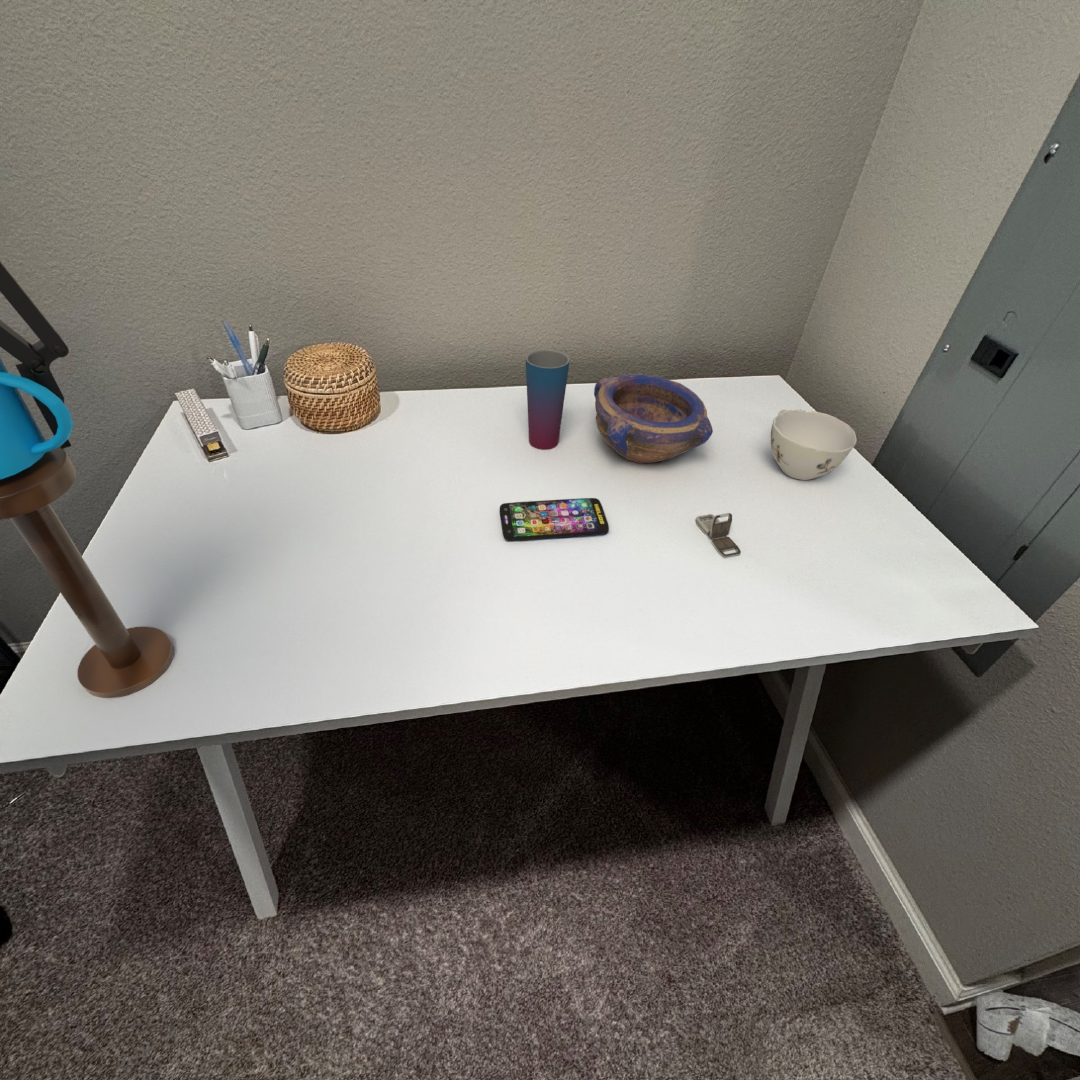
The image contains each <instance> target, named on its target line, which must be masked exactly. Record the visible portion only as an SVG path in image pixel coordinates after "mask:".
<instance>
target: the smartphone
mask: <svg viewBox="0 0 1080 1080" xmlns="http://www.w3.org/2000/svg"><path fill="white" fill-rule="evenodd" d="M499 517H500V524H501V531H502V537H503V539H504V540H506V541H510V542H511V541H512V542H514V541H530V540H543V539H559V538H575V537H576V538H577V537H588V536H589V537H590V536H601V535H606V534H607V533H609V527H610V526H609V521H608V519H607V517H606V513H605V511H604V508H603V505H602V503H601V501H600V499H598V498H596V497H581V498H564V499H545V500H529V501H516V502H503V503H502V504H500V505H499Z"/></svg>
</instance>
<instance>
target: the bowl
mask: <svg viewBox="0 0 1080 1080" xmlns="http://www.w3.org/2000/svg"><path fill="white" fill-rule="evenodd" d="M593 395H594V399H595V401H594V406H595V412H596V414H595V424H596V428H597V430H598V432H599V434H600V435H601V437H602V439H603V440H604V442H605V443H606V444H607V445H608V446H609V447H610V448H611V449H612V450H614V451H615V452H616V453H617V454H618V455H619V456H621V457H623V458H624V459H626V460H628V461H631V462H634V463H637V464H639V463H640V464H641V463H643V464H644V463H645V464H647V463H651V464H652V463H657V462H662V461H667V460H670V459H672V458H675V457H677V456H678V455H680V454H683V453H685V452H688V451H690V450H694V449H695V448H698V447H700V446H701V445H704V444H705V443H707V442H708V441H709V439H711V436H712V435H713V432H714V430H713V426H712V423H711V420H710V419H709V417H708V410H707V408H706V406H705V404H704V402H703V400H702V399H701V398H700V397H699V396H698V395H697V394H696V393H695V392H694V391H692V390H691V389H690V388H689V387H687V386H686V385H684V384H682V383H681V382H678V381H675V380H672V379H667V378H665V377H660V376H657V375H656V376H655V375H650V374H644V373H637V374H634V373H633V374H624V375H619V376H614V377H604V378H602V379H600V380H598V381H597V382H596V383H595V385H594V389H593Z"/></svg>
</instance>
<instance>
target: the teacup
mask: <svg viewBox="0 0 1080 1080" xmlns="http://www.w3.org/2000/svg"><path fill="white" fill-rule="evenodd" d="M857 439H858V438H857V436H856V432H855V430H854V429H853V428H852V427H851V426H850V425H849V424H847V423H846V422H844V421H842V420H840V419H839V418H838V417H835V416H832V415H831V414H827V413H824V412H820V411H816V410H810V411H806V410H804V409H799V408H798V409H781V410H780V411H779V412H778V414H777V415H776V416H775V417H774V418H773V419H772V424H771V428H770V449H771V452H772V455H773V458H774V459H775V461H776V463H777V464H778V466H779V467H780V469H781V471H782V472H783V473H784V474H785V475H787V476H788V477H790V478H792V479H795V480H796V479H797V480H802V481H809V480H813V479H816V478H818V477H820V476H823V475H826V474H828V473H829V472H831V471H833V470H834V469H836V468H837V467H838V466H839V465H840V464H842V462H843V461H844V460H845V459H846V458H847V457H848V455H850V453H851V451H852V450H853V448H854V447H855V446H856V445H857Z"/></svg>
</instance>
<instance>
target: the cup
mask: <svg viewBox="0 0 1080 1080" xmlns="http://www.w3.org/2000/svg"><path fill="white" fill-rule="evenodd" d="M570 361H571V359H570V356H569V355H568V354H567V353H566V352H564V351H561V350H560V349H559V350H558V349H554V348H537V349H533V350H531V351H529V352H527V353H526V355H525V377H526V380H525V381H526V402H527V406H526V407H527V426H528V429H527V430H528V443H529V445H530V446H531V447H533V448H534V449H538V450H551V449H554V448H556V447H558V445H559V441H560V433H561V426H562V419H563V412H564V404H565V399H566V398H565V396H566V390H567V383H568V375H569V367H570Z"/></svg>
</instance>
